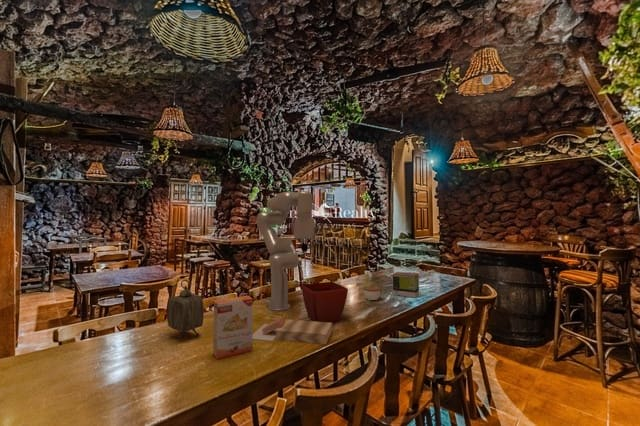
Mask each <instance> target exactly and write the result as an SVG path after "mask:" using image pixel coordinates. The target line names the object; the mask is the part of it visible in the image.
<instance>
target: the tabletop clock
mask: <svg viewBox="0 0 640 426" xmlns="http://www.w3.org/2000/svg"><path fill="white" fill-rule="evenodd" d="M183 282H187V283H188V285H189V286H187V285H185V286H184V285H183ZM180 287H181V288H182V289H183V290H181V291H180V292H179V294H178V295H175V296H172V297H171V298H170V299H168V301H167V308H166V309H167V311H166V313H167V314H166V315H167V319H166V320H167V325H168V327H169V328H171V329H173V330H175V331H178V332H180V334H178V338H179V339H181V338H183V333H185V332H189V331H193V333H194V334H195V337H197V338H198V337H199V336H200V333H199V332H197V331H196V329H197V328H201V327H203V324H204V316H205V315H204V310H205V309H204V301H203V300H204V299H203V298H202V296H200V295H198V294H195V293H192V291H191V290H190V289H191V282H190V281H189V280H187V279H182V280H181V282H180Z"/></svg>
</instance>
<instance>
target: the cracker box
mask: <svg viewBox="0 0 640 426" xmlns="http://www.w3.org/2000/svg"><path fill="white" fill-rule="evenodd" d="M253 320H254V298H252V297H251V296H249V295H243V296H236V297H229V298H221V299H216V300H215V299H214V300H213V346H212V347H213V351H212V352H213V356H215V358H216V360H219V359H223V358H226V357H227V358H228V357H231V356H236V355H239V354H244V353H247V352H253V344H254V343H253V342H254V341H253V334H254V332H253V329H254V321H253Z"/></svg>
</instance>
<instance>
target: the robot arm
mask: <svg viewBox="0 0 640 426" xmlns="http://www.w3.org/2000/svg"><path fill="white" fill-rule="evenodd" d="M266 207H267V209H268V210H269V211H261V212H259V213H258V214H257V215H256V225H257V229H258V230H259V232H260V234H261V236H262V238H263V240H264V244H265V247H266V249H267V252H268V253H269V254H271V256H270V257H269V267H270V281H271V283H270V289H271V291H270V293H271V294H270V296H271V297H270V298H271V299H265V300H264V304H267V305H268V309H269V310H270V311H274V312H280V311H281V312H282V311H287V310H289V309H291V304H290V303H289V299H288V296H289V295H288V294H289V290H288V289H289V288H288V287H289V286H288V283H289V281H288V279H289V278H288V275H287V273H286V271H285V270H288V269H295V268H297V267H298V266H299V264H300V258H299V256H298V252H297V251H296V248H295V245H294V243H293V241H292V240H291V239H290V238H289V237H279V236H278V233H277V231H276V230H275V229H274V228H273V227H272V226H280V225H283V224H284V223H285V222H286V220H287V217H288V215H289V213H290V211H291V208H292V207H296V208H297V209H296V213H294V217H296V218H295V220H294V227H293V237H294V238H293V240H294V241H297V242H299V244H301V245H300V246H301V251H302V253H306V252H307V253H308V250H309V248H308V247H309V243H311V242H313V241H315V240H316V238H315V235H316V233H315V231H316V228H315V222H314V218H313V213H312V212H313V194H312V192H310V191H298V192H297V191H283V192H279V193H277V194H276V196H274V197H271V198H269V199H268V200H267V202H266Z"/></svg>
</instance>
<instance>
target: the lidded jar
mask: <svg viewBox="0 0 640 426" xmlns="http://www.w3.org/2000/svg"><path fill="white" fill-rule="evenodd" d="M363 296H364V298H365V299H366V300H367V299H368V300H376V301H378V299H380V296H381V287H380V286H378V285H373V284H371V285H365V286H363ZM368 300H367V301H368Z"/></svg>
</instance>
